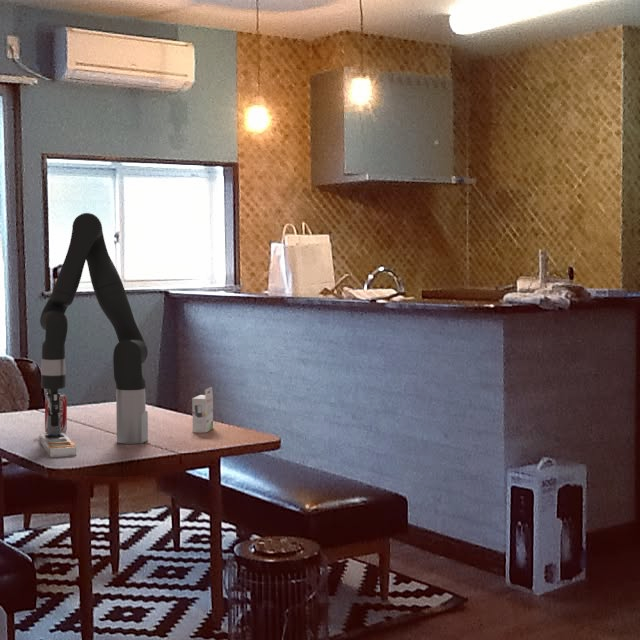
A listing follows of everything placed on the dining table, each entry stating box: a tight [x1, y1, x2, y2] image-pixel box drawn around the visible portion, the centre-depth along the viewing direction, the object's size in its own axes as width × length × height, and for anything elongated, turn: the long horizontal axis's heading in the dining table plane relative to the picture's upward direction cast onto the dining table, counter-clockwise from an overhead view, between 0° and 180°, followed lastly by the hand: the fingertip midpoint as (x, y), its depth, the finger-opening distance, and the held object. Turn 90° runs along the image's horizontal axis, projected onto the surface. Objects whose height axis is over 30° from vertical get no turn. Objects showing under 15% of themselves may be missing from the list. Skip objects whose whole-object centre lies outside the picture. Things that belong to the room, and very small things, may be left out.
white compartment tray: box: [39, 432, 77, 458], centre depth 311 cm, size 26×8×3 cm, turn 22°
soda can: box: [44, 393, 68, 434], centre depth 337 cm, size 7×7×13 cm
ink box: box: [191, 386, 214, 434], centre depth 343 cm, size 9×5×15 cm, turn 168°
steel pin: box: [48, 415, 61, 438], centre depth 318 cm, size 4×4×9 cm
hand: (53, 423), depth 319 cm, fingers open, 8 cm apart
